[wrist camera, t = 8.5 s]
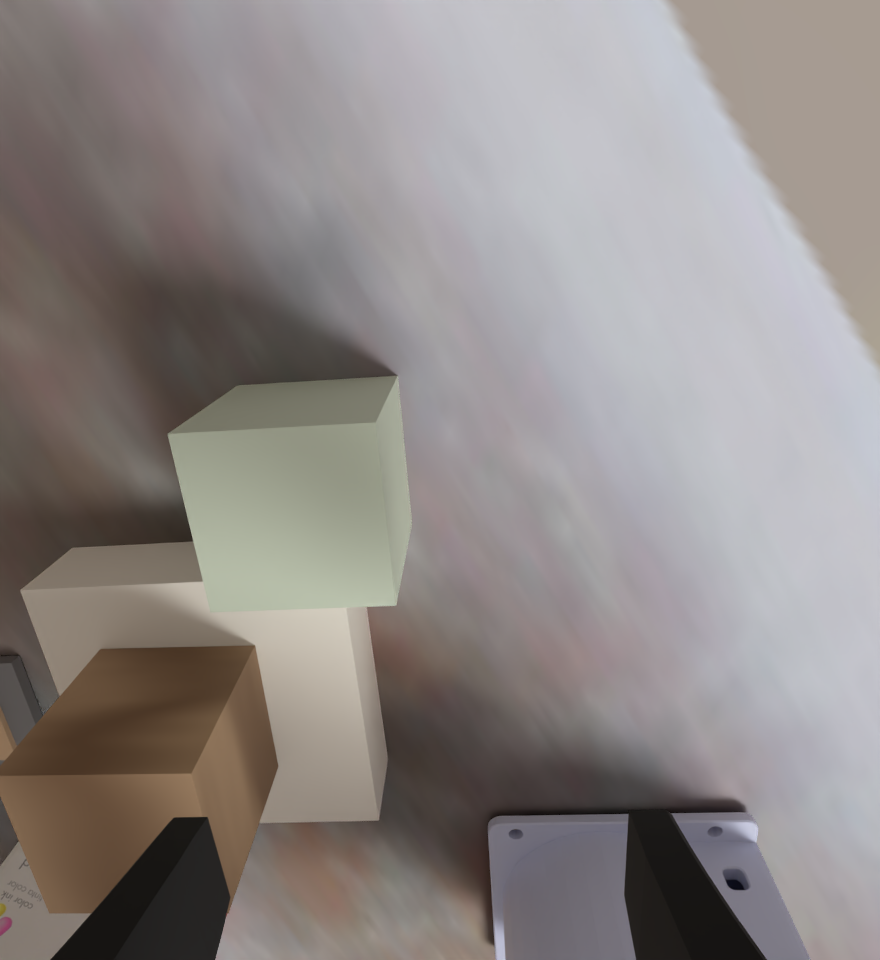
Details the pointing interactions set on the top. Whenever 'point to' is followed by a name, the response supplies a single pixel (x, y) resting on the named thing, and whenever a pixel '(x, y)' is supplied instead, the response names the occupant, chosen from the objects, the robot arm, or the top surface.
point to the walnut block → (140, 766)
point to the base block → (275, 633)
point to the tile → (15, 705)
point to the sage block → (298, 494)
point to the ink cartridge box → (29, 914)
